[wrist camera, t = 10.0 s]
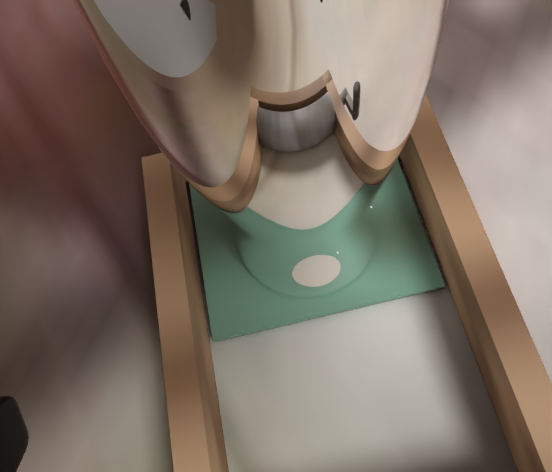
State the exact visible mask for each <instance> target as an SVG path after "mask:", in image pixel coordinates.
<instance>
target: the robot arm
mask: <svg viewBox="0 0 552 472" xmlns="http://www.w3.org/2000/svg"><path fill="white" fill-rule="evenodd" d="M28 439H29V436H28V430H27V428H26V425H25V422H24V420H23V417H22V414H21V412H20V409H19V406H18V404H17V402H16V400H15V399H14V398H13V397H11V396H0V472H16V471H17V469H18V467H19V464H20V462H21V460H22V458H23V455H24V453H25V451H26V448H27V445H28Z"/></svg>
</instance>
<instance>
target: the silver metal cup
mask: <svg viewBox="0 0 552 472" xmlns="http://www.w3.org/2000/svg"><path fill="white" fill-rule="evenodd" d="M72 1H73V3H74V5H75V7H76V9H77V11H78V13H79V15H80V17H81V19H82V21H83V23H84V25H85V26H86V28H87V30H88V32H89V34H90V36H91V38H92V40H93V42H94V44H95V45H96V47H97V49H98V51H99V53H100V55H101V57H102V59H103V61H104V63H105V64H106V66H107V68H108V70H109V71H110V73H111V75H112V77H113V78H114V80H115V82H116V83H117V85H118V87H119V88H120V90H121V92H122V93H123V95H124V97H125V98H126V100H127V102H128V103H129V105H130V107H131V109H132V110H133V112H134V114H135V115H136V117H137V118H138V120H139V121H140V122H141V124H142V125H143V127H144V128H145V129H146V131H147V132H148V134H149V135H150V137H151V138H152V139H153V141H154V142H155V144H156V145H157V146H158V148H159V149H160V151H161V152H162V153H163V155H164V156H165V157H166V158H167V160H168V161H169V162H170V163H171V164H172V165H173V166H174V167H175V168H176V169H177V171H178V172H179V173H180V174H181V175H182V176H183V177H184V178H185V179H186V180H187V181H188V182H189V183H190V184H191V186H192V187H193V188H194V189H195V190H196V191H197V192H199V193H200V194H201V195H202V196H203V197H204V198H205V199H206V200H207V201H209V202H210V203H211V204H212V205H213V206H214V207H215V208H216V209H217V210H219V211H220V212H221V213H222V214H223V215H224V216H226V217H227V218H228V219H229V220H230V221H231V222H232V223H233V224H234V225H235V235H236V242H237V247H238V250H239V253H240V256H241V258H242V260H243V262H244V264H245V266H246V267H247V269H248V270H249V271H250V272H251V274H252V275H253V276H254V277H255V278H256V279H257V280H258V281H260V282H261V283H262V284H264V285H265V286H267V287H268V288H270V289H272V290H274V291H276V292H279V293H282V294H285V295H289V296H294V297H317V296H322V295H326V294H329V293H332V292H335V291H337V290H339V289H341V288H343V287H344V286H346V285H348V284H349V283H350V282H352V281H353V280H354V279H355V278H356V277H357V276H358V275H359V274H360V273H361V272H362V271H363V270H364V269H365V267H366V266H367V264H368V263H369V261H370V259H371V257H372V255H373V253H374V250H375V247H376V243H377V235H378V228H377V218H376V213H375V209H374V205H373V201H374V199H375V197H376V195H377V194H378V192H379V190H380V189H381V187H382V185H383V184H384V182H385V180H386V179H387V177H388V175H389V173H390V172H391V170H392V168H393V166H394V165H395V163H396V161H397V159H398V158H399V156H400V154H401V152H402V150H403V148H404V145H405V143H406V141H407V139H408V137H409V135H410V132H411V130H412V128H413V126H414V124H415V122H416V119H417V117H418V115H419V112H420V110H421V107H422V103H423V100H424V97H425V94H426V90H427V87H428V84H429V81H430V77H431V74H432V71H433V68H434V64H435V61H436V57H437V53H438V48H439V44H440V39H441V35H442V30H443V25H444V21H445V16H446V12H447V7H448V2H449V0H72Z"/></svg>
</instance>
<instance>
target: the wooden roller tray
mask: <svg viewBox="0 0 552 472" xmlns="http://www.w3.org/2000/svg"><path fill="white" fill-rule="evenodd" d="M399 157H400V160H401V163H402V165H403V168H404V170H405V173H406V176H407V178H408V181H409V184H410V186H411V189H412V192H413V194H414V197H415V200H416V202H417V205H418V207H419V210H420V213H421V215H422V218H423V221H424V223H425V226H426V229H427V231H428V234H429V237H430V239H431V242H432V245H433V247H434V250H435V252H436V255H437V258H438V260H439V263H440V266H441V268H442V271H443V274H444V276H445V279H446V282H447V284H448V287H449V290H450V292H451V295H452V297H453V300H454V303H455V305H456V308H457V311H458V313H459V316H460V319H461V321H462V324H463V327H464V329H465V332H466V335H467V337H468V340H469V342H470V345H471V348H472V350H473V353H474V356H475V358H476V361H477V364H478V366H479V369H480V372H481V374H482V377H483V380H484V382H485V385H486V387H487V390H488V393H489V395H490V398H491V401H492V403H493V406H494V409H495V411H496V414H497V417H498V419H499V422H500V425H501V427H502V430H503V432H504V435H505V438H506V440H507V443H508V446H509V448H510V451H511V454H512V456H513V459H514V462H515V464H516V467H517V470H518V472H552V384H551V382H550V379H549V377H548V375H547V372H546V370H545V368H544V365H543V363H542V361H541V359H540V356H539V354H538V352H537V349H536V347H535V345H534V342H533V340H532V338H531V336H530V333H529V331H528V329H527V326H526V324H525V322H524V319H523V317H522V315H521V313H520V310H519V308H518V306H517V303H516V301H515V299H514V296H513V294H512V292H511V290H510V287H509V285H508V283H507V280H506V278H505V276H504V273H503V271H502V269H501V267H500V264H499V262H498V260H497V257H496V255H495V253H494V250H493V248H492V246H491V244H490V241H489V239H488V237H487V234H486V232H485V230H484V227H483V225H482V223H481V221H480V218H479V216H478V214H477V211H476V209H475V207H474V204H473V202H472V200H471V198H470V195H469V193H468V191H467V188H466V186H465V184H464V181H463V179H462V177H461V175H460V172H459V170H458V168H457V165H456V163H455V161H454V158H453V156H452V154H451V152H450V149H449V147H448V145H447V142H446V140H445V138H444V135H443V133H442V131H441V129H440V126H439V124H438V122H437V119H436V117H435V115H434V112H433V110H432V108H431V106H430V103H429V101H428V99H427V96H426V94H425V97H424V100H423V103H422V107H421V110H420V112H419V115H418V117H417V119H416V122H415V124H414V126H413V128H412V130H411V132H410V135H409V137H408V139H407V141H406V143H405V145H404V148H403V150H402V152H401V154H400V156H399ZM142 168H143V177H144V187H145V197H146V207H147V216H148V226H149V236H150V245H151V255H152V265H153V275H154V284H155V294H156V304H157V313H158V323H159V333H160V342H161V352H162V362H163V372H164V381H165V391H166V401H167V410H168V420H169V430H170V440H171V449H172V459H173V469H174V472H229V471H228V464H227V457H226V450H225V444H224V437H223V430H222V423H221V416H220V410H219V403H218V396H217V389H216V382H215V375H214V369H213V362H212V355H211V348H210V341H209V335H208V328H207V321H206V314H205V307H204V301H203V294H202V287H201V280H200V273H199V266H198V260H197V253H196V246H195V239H194V232H193V226H192V219H191V212H190V205H189V198H188V191H187V185H186V179H185V178H184V177H183V176H182V175H181V174H180V173H179V172H178V171H177V169H176V168H175V167H174V166H173V165H172V164H171V163H170V162H169V161H168V160H167V158H166V157H165V156H164V155H163V153H158V154H154V155H150V156H146V157H142ZM189 186H190V193H191V200H192V206H193V213H194V220H195V226H196V233H197V240H198V246H199V253H200V260H201V266H202V273H203V280H204V287H205V293H206V300H207V307H208V313H209V320H210V327H211V333H212V340H213V341H214V342H217V341H221V340H226V339H230V338H234V337H238V336H243V335H247V334H251V333H255V332H260V331H264V330H268V329H272V328H277V327H281V326H285V325H289V324H293V323H298V322H302V321H306V320H310V319H315V318H319V317H323V316H327V315H332V314H336V313H340V312H344V311H349V310H353V309H357V308H361V307H365V306H370V305H374V304H378V303H382V302H387V301H391V300H395V299H399V298H404V297H408V296H412V295H416V294H421V293H425V292H429V291H433V290H437V289H442V288H444V287H445V284H444V281H443V279H442V276H441V273H440V271H439V268H438V265H437V263H436V260H435V257H434V255H433V252H432V249H431V247H430V244H429V241H428V239H427V236H426V233H425V231H424V228H423V225H422V223H421V220H420V217H419V215H418V212H417V209H416V207H415V204H414V201H413V199H412V196H411V193H410V191H409V188H408V185H407V183H406V180H405V177H404V175H403V172H402V169H401V167H400V164H399V161H398V159H397V161H396V163H395V165H394V166H393V168H392V170H391V172H390V173H389V175H388V177H387V179H386V180H385V182H384V184H383V185H382V187H381V189H380V190H379V192H378V194H377V195H376V197H375V199H374V201H373V205H374V209H375V213H376V218H377V228H378V235H377V243H376V247H375V250H374V253H373V255H372V257H371V259H370V261H369V263H368V264H367V266H366V267H365V269H364V270H363V271H362V272H361V273H360V274H359V275H358V276H357V277H356V278H355V279H354V280H353V281H352V282H350V283H349V284H348V285H346V286H344V287H343V288H341V289H339V290H337V291H335V292H332V293H329V294H326V295H322V296H317V297H294V296H289V295H285V294H282V293H279V292H276V291H274V290H272V289H270V288H268V287H267V286H265V285H264V284H262V283H261V282H260V281H258V280H257V279H256V278H255V277H254V276H253V275H252V274H251V272H250V271H249V270H248V269H247V267H246V266H245V264H244V262H243V260H242V258H241V256H240V253H239V250H238V247H237V242H236V235H235V225H234V224H233V223H232V222H231V221H230V220H229V219H228V218H227V217H226V216H224V215H223V214H222V213H221V212H220V211H219V210H217V209H216V208H215V207H214V206H213V205H212V204H211V203H210V202H209V201H207V200H206V199H205V198H204V197H203V196H202V195H201V194H200V193H199V192H197V191H196V190H195V189H194V188H193V187H192V186H191V184H190V183H189Z"/></svg>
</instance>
